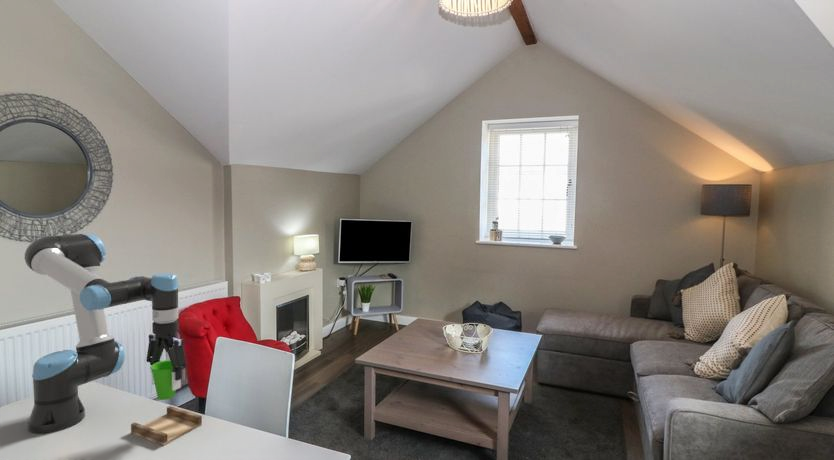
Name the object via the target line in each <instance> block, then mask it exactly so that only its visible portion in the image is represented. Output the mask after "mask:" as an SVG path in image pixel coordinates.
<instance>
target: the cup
mask: <svg viewBox="0 0 834 460" xmlns="http://www.w3.org/2000/svg"><path fill="white" fill-rule="evenodd" d="M149 368H150V370H152V372H151V374H152V373H153V378H154V382H155V385H154V386H155V387H154V388H155V391H156V396H157V398H158V399H159V400H161V401H162V400H163V401H165V400H170V399H172V398H174V397H175V396H176V391H177V389H176V390H174V391H173V390H172V371H173V370H174V369H173V367H172V364H171V361H170V359H166V360H160V362H157V363H155V364H153V365H150V367H149Z"/></svg>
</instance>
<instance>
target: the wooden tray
mask: <svg viewBox="0 0 834 460" xmlns="http://www.w3.org/2000/svg"><path fill="white" fill-rule="evenodd" d="M202 418H203V416H202V415H200V414H196V413H192V412H190V411H186V410H184V409H180V408H178V407H175V406H172V405H170V406H167V407H166V413H165V414H164V415H162V416H159V417H157V418H156V419H153V420H151V421H148V422H147V423H145V424H140V423H138V422H135V421H134V422H132V423H131V424H130V434H133V435H135V436H137V437H140V438H143V439H145V440H148V441H151V442H153V443H155V444H159V445H161V446H166V445H169V444H170V443H171V442H173V441H175V440H177V439H179V438H181V437H182V436H184V435H186V434H188V433H190V432H191V431H193V430H195V429H197V428H199V427H201V426H202V424H203V422H202V420H203V419H202Z"/></svg>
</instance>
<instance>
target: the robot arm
mask: <svg viewBox="0 0 834 460" xmlns="http://www.w3.org/2000/svg"><path fill="white" fill-rule="evenodd" d="M106 255H107V254H106V247H105V245H104V243H103V241H102V240H101V239H100V238H99V237H98V236H97V235H95V234H92V233H91V234H90V233H77V234H76V233H74V234H65V235H47V236H43V237H41V238H37V239H36V240H34V241H33V242H31V243H30V244H29V245H28V247H27V248H26V249H25V253H24V261H25V263H26V266H27V267H28V268H29V269H30V270H31V271H33V272H35V273H36V274H39V275H42V276H43V275H45V276H48V277H49V278H51V279H53V280H54V281H55V282H57V283H59V284H60V285H62V286H64V287H65V288H67V289H68V290H70V295H71V300H72V305H73V306H72V307H73V311H74V316H75V317H74V318H75V321H76V322H75V323H76V328H77V332H78V338H79V341H78V343H77V344H76V346H75V350H76V351H75V350H73V349H64V350H60V351H53V352H51V353H48V354H46V355H44V356H42V357H40V358H38V359H37V360H36V361H35V363H34V364H33V367H32V375H31V376H32V380H33V381H32V383H33V401H34V403H33V407H32V410H31V412H30V416H29V418H28V421H27V429H28V431H29V432H31V433H34V434H46V433H53V432H59V431H62V430H64V429H65V430H66V429H68V428H70V427H72V426H75V425H77V424H78V423H80V422H81V421H83V419H84V418H85V417H86V409H85V407H84V405H83V402H82V401H81V398H80V396H79V386H82V385H85V384H87V383H90V382H93V381H96V380H100V379H101V378H107V377H109V376H111V375H113V374H116V373H117V372H119V371H120V370H121V369H122V366H124V363H125V359H126V355H125V354H126V353H125V349H124V346H122V343H121V342H119V341H116V340H115V337H113V335H111V334H109V331H108V326H107V325H108V324H107V319H106V316H105V311H104V309H107V308H108V309H109V308H111V307H112V308H113V307H117V306H122V305H126V304H130V303H135V302H136V303H137V302H140V301H148V302H151V309H152V311H151V314H152V317H151V318H152V323H151V324H152V325H151V326H152V327H151V328H152V333H151V334H149V335H148V347H147V354H146V359H145V360H146V363H149V365H150V366H151V365H153V364H155V363H157V362H160V361H161V357H162V355H163V353H164V352H166V353H167V355H168V358H169V360H170V361H171V364H172V367H173V369H174V370H173V371H172V390H173V391H174V390H176V391H177V390H178V389H181V388H182V376H183V375H182V370H184V369H187V360H186V357H185V356H186V355H185V350H184V338H177V335H176V333H177V332H178V331H179V320H178V319H179V283H178V282H179V281H178V276H177V274H176V273H170V272H169V273H167V272H166V273H165V272H164V273H156V274H154V275H152V277H147V276H142V275H139V276H133V277H130V278H129V279H127V280H120V281H119V280H118V281H113V282H109V281H108V280H106V279H103V278H102V277H100V276H99V275H98V271H99V270H100V269H101V267H102V266H101V264H102V263H103V262H104V260H106V259H105V258H106ZM150 370H151V369H150ZM151 380H152V381H151V385H153V386H155V382H154V378H153V373H152V370H151Z"/></svg>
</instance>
